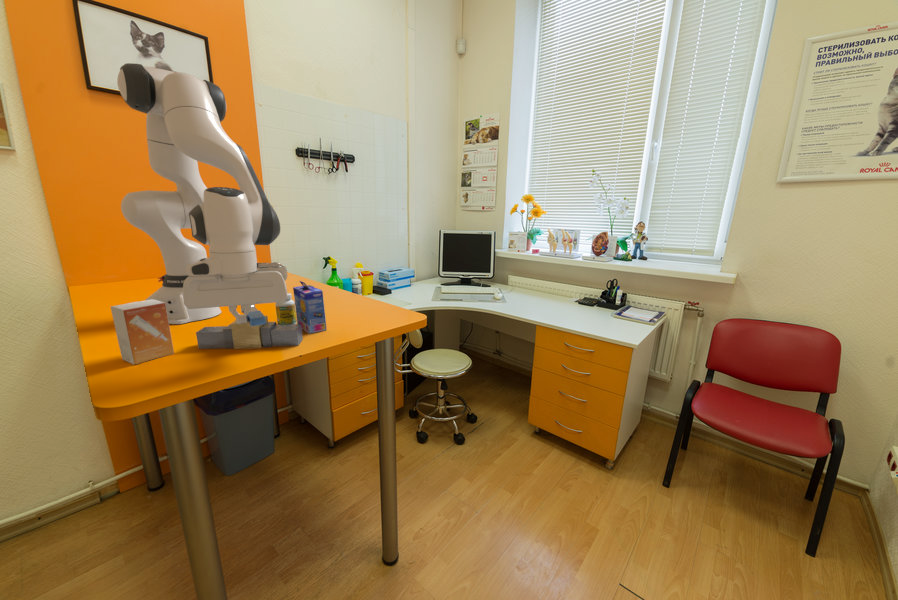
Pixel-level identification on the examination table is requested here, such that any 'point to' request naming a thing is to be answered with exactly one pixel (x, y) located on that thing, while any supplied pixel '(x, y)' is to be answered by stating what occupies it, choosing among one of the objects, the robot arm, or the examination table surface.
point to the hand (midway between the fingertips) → (242, 323)
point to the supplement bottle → (286, 312)
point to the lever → (254, 316)
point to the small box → (142, 330)
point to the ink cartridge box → (310, 308)
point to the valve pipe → (249, 336)
